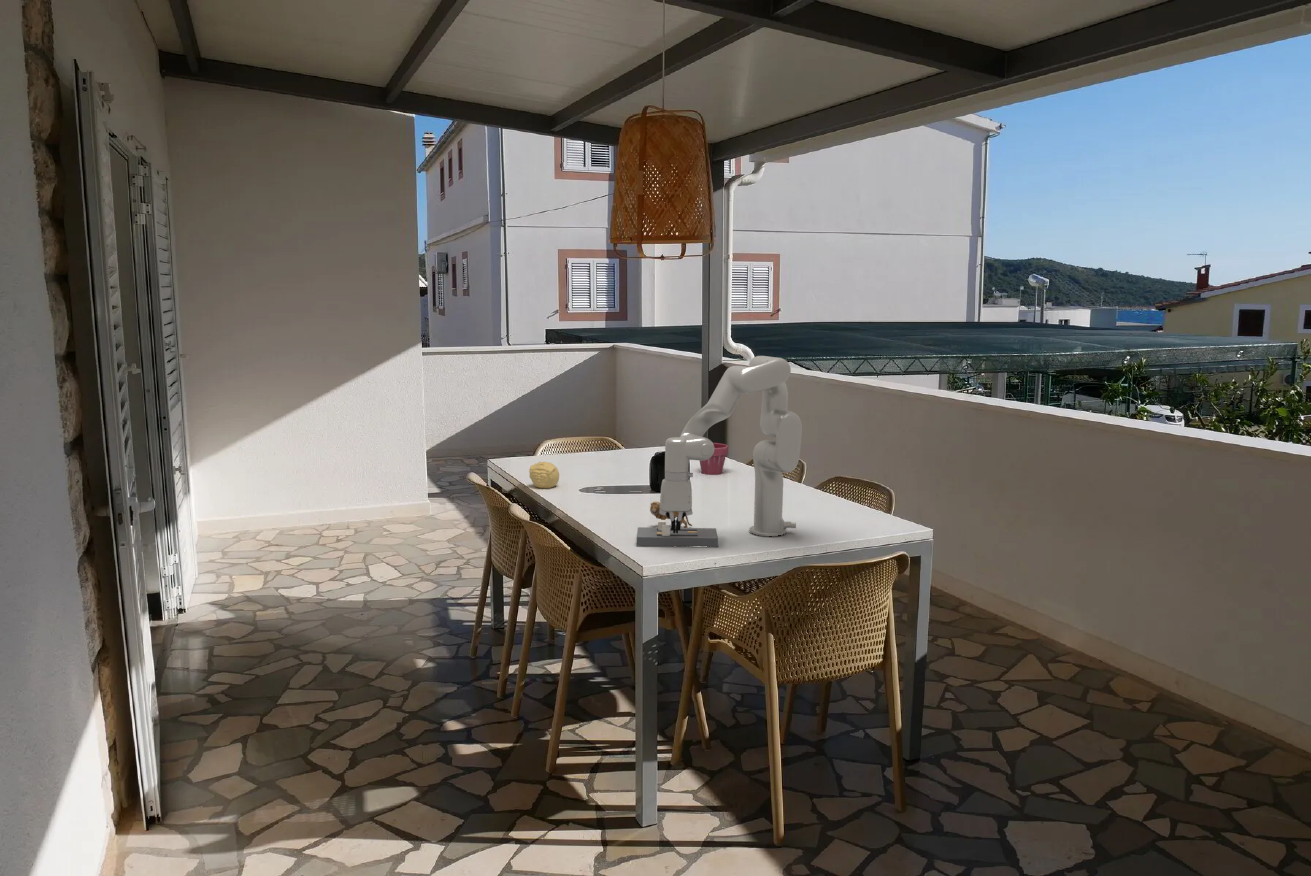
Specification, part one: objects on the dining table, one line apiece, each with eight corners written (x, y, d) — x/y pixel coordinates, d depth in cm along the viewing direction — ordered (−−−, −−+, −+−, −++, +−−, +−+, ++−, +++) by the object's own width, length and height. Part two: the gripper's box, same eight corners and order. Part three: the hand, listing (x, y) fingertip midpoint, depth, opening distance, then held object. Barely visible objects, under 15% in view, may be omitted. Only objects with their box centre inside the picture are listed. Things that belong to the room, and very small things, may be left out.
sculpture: (525, 488, 391) (525, 462, 389) (539, 483, 402) (539, 458, 400) (550, 490, 387) (550, 464, 385) (563, 485, 398) (563, 460, 397)
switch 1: (665, 530, 314) (665, 519, 314) (665, 533, 311) (665, 522, 311) (658, 530, 314) (658, 519, 314) (657, 533, 311) (658, 522, 311)
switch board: (715, 537, 316) (715, 527, 315) (717, 547, 303) (718, 537, 303) (637, 536, 316) (637, 527, 316) (636, 546, 303) (636, 536, 303)
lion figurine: (649, 528, 327) (650, 503, 325) (649, 524, 332) (650, 499, 331) (692, 529, 327) (692, 503, 325) (691, 525, 332) (692, 500, 331)
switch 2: (669, 536, 307) (669, 525, 307) (669, 538, 304) (669, 527, 304) (662, 536, 307) (662, 525, 307) (661, 538, 304) (662, 527, 304)
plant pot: (720, 477, 419) (720, 448, 417) (691, 474, 425) (691, 446, 423) (732, 471, 432) (732, 444, 430) (703, 469, 438) (704, 441, 436)
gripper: (699, 474, 306) (698, 529, 309) (653, 473, 306) (652, 529, 309) (700, 478, 299) (699, 535, 302) (653, 478, 299) (652, 534, 302)
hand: (675, 532), depth 305 cm, fingers closed
